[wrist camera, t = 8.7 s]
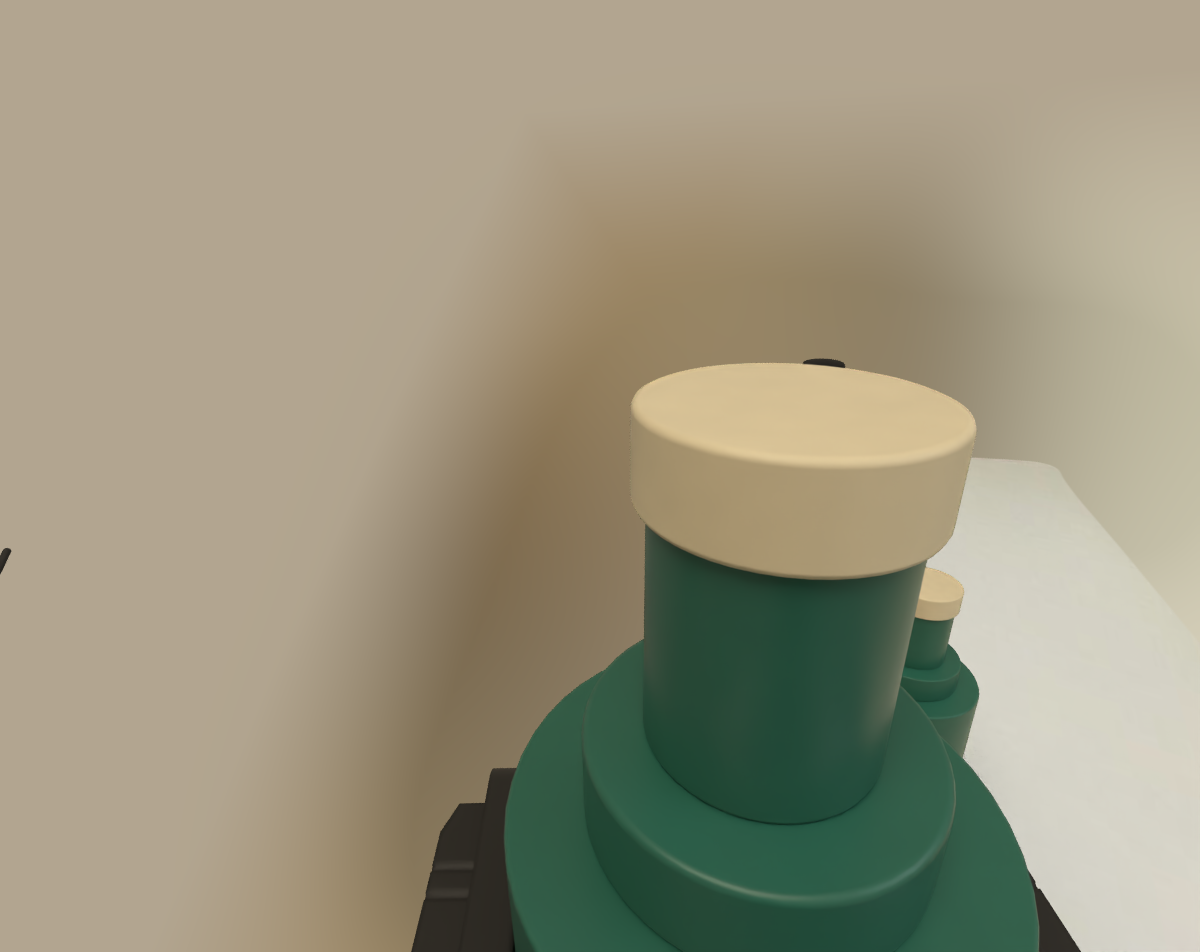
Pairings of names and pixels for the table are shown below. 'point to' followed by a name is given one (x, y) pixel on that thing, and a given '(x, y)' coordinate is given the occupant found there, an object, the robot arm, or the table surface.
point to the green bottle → (770, 695)
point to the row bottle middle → (940, 661)
